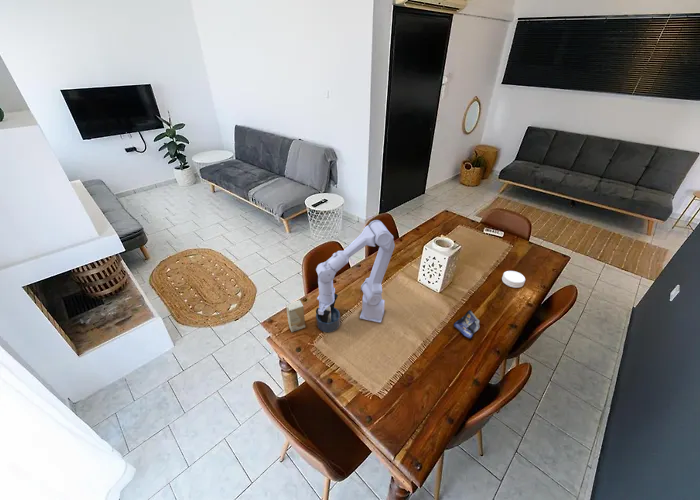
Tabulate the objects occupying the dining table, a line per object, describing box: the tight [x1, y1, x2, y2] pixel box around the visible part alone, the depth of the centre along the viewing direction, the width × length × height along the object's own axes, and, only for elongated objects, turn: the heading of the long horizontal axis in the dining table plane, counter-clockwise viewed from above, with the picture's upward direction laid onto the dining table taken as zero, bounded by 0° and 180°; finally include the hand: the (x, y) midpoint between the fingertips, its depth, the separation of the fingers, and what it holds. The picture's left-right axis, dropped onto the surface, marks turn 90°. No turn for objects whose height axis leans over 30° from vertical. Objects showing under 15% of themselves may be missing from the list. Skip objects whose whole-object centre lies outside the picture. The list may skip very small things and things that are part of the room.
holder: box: [315, 306, 341, 333], centre depth 128 cm, size 10×10×5 cm
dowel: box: [326, 306, 331, 323], centre depth 126 cm, size 3×3×8 cm
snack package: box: [453, 309, 481, 340], centre depth 124 cm, size 12×6×12 cm
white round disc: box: [501, 270, 526, 289], centre depth 150 cm, size 10×10×4 cm
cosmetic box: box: [285, 299, 306, 333], centre depth 124 cm, size 6×4×12 cm
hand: (328, 315), depth 127 cm, fingers open, 7 cm apart
